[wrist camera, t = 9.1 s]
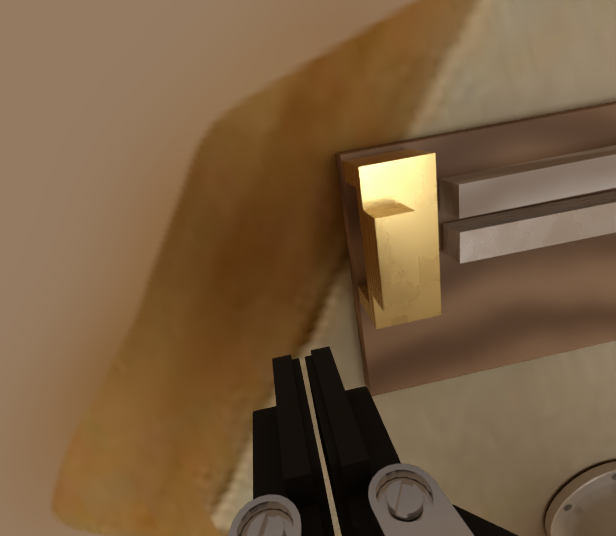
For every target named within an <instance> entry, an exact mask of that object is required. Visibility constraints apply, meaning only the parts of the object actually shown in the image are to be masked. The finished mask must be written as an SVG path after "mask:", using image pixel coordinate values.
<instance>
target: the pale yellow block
mask: <svg viewBox="0 0 616 536" xmlns="http://www.w3.org/2000/svg"><path fill="white" fill-rule="evenodd" d="M342 162H343V170H344V178H345V182H347V183H349V184H350V185H352V186H354V187H355V188H356V191H357V199H358V208H359V217H360V225H361V234H362V243H363V251H364V260H365V269H366V277H367V284H366V285H362V286H358V290H359V297H360V303H361V304H362V306H363V308H364V309H365V311H366V313H367V314H368V316H369V318H370V319H371V321H372V323H373V324H374V326H375V328H376V329H380V328H385V327H389V326H394V325H398V324H403V323H408V322H412V321H417V320H422V319H426V318H431V317H435V316H440V315H441V289H440V262H439V236H438V209H437V182H436V156H435V153H434V152H427V151H420V150H414V149H403V150H398V151H392V152H387V153H381V154H376V155H371V156H365V157H360V158H354V159H349V160H344V161H342Z"/></svg>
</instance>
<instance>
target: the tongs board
mask: <svg viewBox="0 0 616 536" xmlns="http://www.w3.org/2000/svg"><path fill="white" fill-rule="evenodd" d="M403 149H414V150H420V151H427V152H434V153H435V156H436V182H437V209H438V236H439V262H440V289H441V315H440V316H435V317H431V318H426V319H422V320H417V321H412V322H408V323H403V324H398V325H394V326H389V327H385V328H380V329H376V328H375V326H374V324H373V323H372V321H371V319H370V318H369V316H368V314H367V313H366V311H365V309H364V308H363V306H362V304H361V303H360V297H359V290H358V286H362V285H366V284H367V277H366V269H365V260H364V251H363V243H362V234H361V225H360V217H359V208H358V199H357V191H356V188H355V187H354V186H352V185H350V184H349V183H347V182H345V178H344V170H343V162H342V161H344V160H349V159H354V158H360V157H365V156H371V155H376V154H381V153H387V152H392V151H398V150H403ZM335 154H336V161H337V169H338V177H339V184H340V192H341V199H342V207H343V215H344V222H345V230H346V237H347V245H348V253H349V260H350V268H351V276H352V283H353V291H354V298H355V306H356V314H357V321H358V329H359V336H360V344H361V352H362V359H363V367H364V374H365V382H366V386H367V388H368V390H369V392H370V394H371V396H374V395H379V394H383V393H387V392H392V391H396V390H401V389H405V388H409V387H414V386H418V385H422V384H427V383H431V382H436V381H440V380H444V379H449V378H453V377H457V376H462V375H466V374H470V373H475V372H479V371H484V370H488V369H492V368H497V367H501V366H505V365H510V364H514V363H519V362H523V361H527V360H532V359H536V358H540V357H545V356H549V355H554V354H558V353H562V352H567V351H571V350H575V349H580V348H584V347H589V346H593V345H597V344H602V343H606V342H610V341H615V340H616V232H615V233H610V234H605V235H600V236H595V237H590V238H586V239H581V240H576V241H571V242H566V243H561V244H556V245H551V246H546V247H541V248H536V249H531V250H526V251H521V252H516V253H511V254H506V255H501V256H496V257H491V258H486V259H481V260H476V261H471V262H466V263H461V264H460V263H458V262H457V261H455V260H454V259H452V258H451V257H449V256H448V255H446V254H445V253H443V223H449V222H454V221H459V220H464V219H469V218H475V217H480V216H485V215H490V214H495V213H501V212H506V211H511V210H516V209H522V208H527V207H532V206H537V205H542V204H548V203H553V202H558V201H563V200H568V199H574V198H579V197H584V196H589V195H594V194H600V193H605V192H610V191H615V190H616V102H612V103H607V104H602V105H596V106H591V107H585V108H580V109H574V110H569V111H564V112H558V113H553V114H547V115H542V116H536V117H531V118H525V119H520V120H515V121H509V122H504V123H498V124H493V125H487V126H482V127H476V128H471V129H466V130H460V131H455V132H449V133H444V134H438V135H433V136H427V137H422V138H417V139H411V140H406V141H400V142H395V143H389V144H384V145H378V146H373V147H368V148H362V149H357V150H351V151H346V152H340V153H335Z"/></svg>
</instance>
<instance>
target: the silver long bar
mask: <svg viewBox="0 0 616 536" xmlns="http://www.w3.org/2000/svg"><path fill="white" fill-rule="evenodd" d="M615 232H616V190H615V191H610V192H605V193H600V194H594V195H589V196H584V197H579V198H574V199H568V200H563V201H558V202H553V203H548V204H542V205H537V206H532V207H527V208H522V209H516V210H511V211H506V212H501V213H495V214H490V215H485V216H480V217H475V218H469V219H464V220H459V221H454V222H449V223H443V253H445V254H446V255H448V256H449V257H451V258H452V259H454V260H455V261H457V262H458V263H460V264H461V263H466V262H471V261H476V260H481V259H486V258H491V257H496V256H501V255H506V254H511V253H516V252H521V251H526V250H531V249H536V248H541V247H546V246H551V245H556V244H561V243H566V242H571V241H576V240H581V239H586V238H590V237H595V236H600V235H605V234H610V233H615Z"/></svg>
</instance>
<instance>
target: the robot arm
mask: <svg viewBox="0 0 616 536" xmlns="http://www.w3.org/2000/svg"><path fill="white" fill-rule="evenodd" d="M311 354H312V355H311V356H306V357H305V361H306V366H307V372H308V377H309V382H310V387H311V393H312V398H313V403H314V409H315V414H316V419H317V424H318V430H319V435H320V439H321V444H322V448H323V453H324V457H325V462H326V466H327V471H328V476H329V480H330V485H331V489H332V494H333V498H334V503H335V507H336V512H337V516H338V521H339V525H340V530H341V534H342V536H518V535H516V534H513V533H511V532H509V531H507V530H505V529H503V528H501V527H499V526H497V525H495V524H493V523H490V522H488V521H486V520H484V519H482V518H480V517H478V516H476V515H474V514H472V513H470V512H467V511H465V510H463V509H461V508H459V507H457V506H455V505H453V504H451V502H450V501H449V500H448V498H447V497H446V495H445V494H444V493H443V491H442V490H441V488H440V487H439V485H438V484H437V483H436V481H435V480H434V479H433V478H432V477H431V476H430V475H429V474H428V473H427V472H425V471H424V470H422V469H420V468H419V467H416V466H413V465H410V464H401V462H400V460H399V458H398V455H397V453H396V451H395V449H394V446H393V444H392V442H391V440H390V437H389V435H388V433H387V431H386V428H385V426H384V424H383V422H382V419H381V417H380V415H379V412H378V410H377V408H376V406H375V403H374V401H373V399H372V397H371V394H370V392H369V390H368V388H367V387H366V386H364V387H360V388H355V389H351V390H346V391H345V389H344V387H343V384H342V381H341V378H340V375H339V372H338V370H337V367H336V364H335V361H334V358H333V355H332V353H331V350H330V347H324V348H320V349H315V350H311ZM272 362H273V373H274V384H275V395H276V406H275V407H271V408H266V409H262V410H257V411H253V500H252V501H250V502H248V503H247V504H246V505H245V506H244V507H243V508H242V509H241V510H240V511H239V512H238V514H237V515H236V517H235V518H234V520H233V522H232V525H231V528H230V531H229V535H228V536H335V534H334V529H333V524H332V519H331V514H330V509H329V504H328V498H327V493H326V488H325V483H324V478H323V473H322V468H321V463H320V458H319V453H318V448H317V443H316V439H315V434H314V429H313V424H312V419H311V414H310V409H309V405H308V400H307V395H306V390H305V385H304V380H303V376H302V371H301V366H300V361H299V358H297V359H293V360H292V358H291V355H287V356H282V357H278V358H273V359H272ZM545 529H546V532H547V535H548V536H616V461H614V462H610V463H605V464H602V465H600V466H597V467H594V468H592V469H590V470H588V471H586V472H584V473H582V474H581V475H579V476H578V477H576V478H575V479H573V480H572V481H571V482H570V483H568V484H567V485H566V486H565V487H564V488H563V489H562V490H561V491H560V492H559V493H558V494H557V495H556V497H555V498H554V500H553V501H552V503H551V504H550V507H549V509H548V511H547V514H546V519H545Z"/></svg>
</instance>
